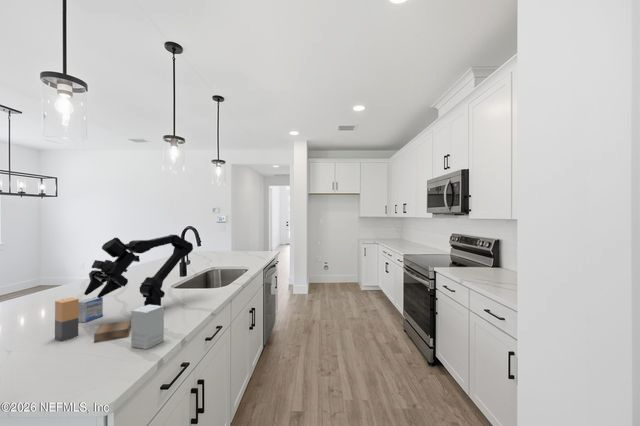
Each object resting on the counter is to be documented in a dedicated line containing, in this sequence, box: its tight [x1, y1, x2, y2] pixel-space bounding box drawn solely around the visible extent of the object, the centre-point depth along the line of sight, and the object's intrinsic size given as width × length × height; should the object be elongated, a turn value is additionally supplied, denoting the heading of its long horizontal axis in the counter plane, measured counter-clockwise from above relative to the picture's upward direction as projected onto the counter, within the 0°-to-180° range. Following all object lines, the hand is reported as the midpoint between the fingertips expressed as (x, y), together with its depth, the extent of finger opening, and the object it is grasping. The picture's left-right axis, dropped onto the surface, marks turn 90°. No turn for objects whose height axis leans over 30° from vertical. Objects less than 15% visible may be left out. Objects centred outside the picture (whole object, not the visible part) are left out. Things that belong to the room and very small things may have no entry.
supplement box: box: [130, 304, 165, 350], centre depth 99 cm, size 7×7×13 cm
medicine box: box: [79, 296, 104, 323], centre depth 123 cm, size 8×4×9 cm, turn 168°
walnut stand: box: [93, 319, 131, 343], centre depth 107 cm, size 10×10×3 cm
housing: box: [54, 297, 80, 343], centre depth 104 cm, size 5×5×14 cm
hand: (91, 296), depth 111 cm, fingers open, 9 cm apart
